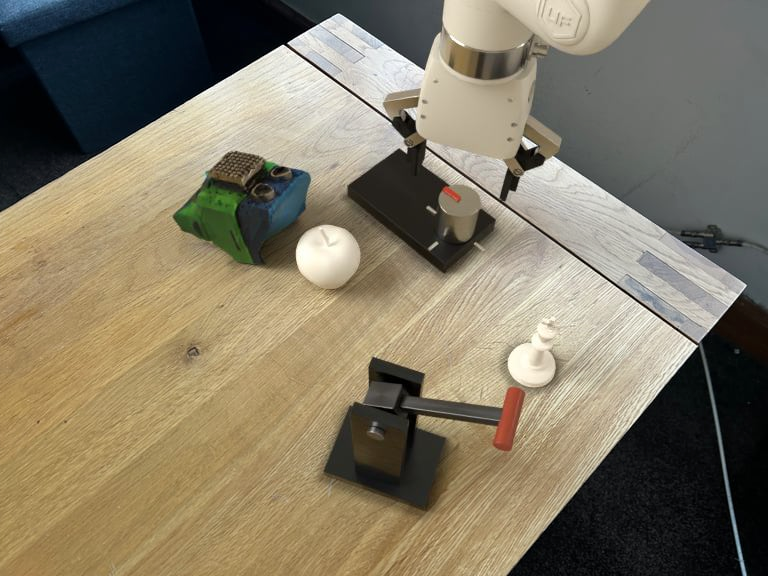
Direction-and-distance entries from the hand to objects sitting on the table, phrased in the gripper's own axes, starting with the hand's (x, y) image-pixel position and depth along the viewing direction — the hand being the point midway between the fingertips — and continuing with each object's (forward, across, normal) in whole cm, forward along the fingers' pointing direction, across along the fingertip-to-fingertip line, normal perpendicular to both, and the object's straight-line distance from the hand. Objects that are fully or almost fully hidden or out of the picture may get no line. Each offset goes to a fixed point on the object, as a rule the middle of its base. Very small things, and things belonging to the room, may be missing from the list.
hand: (461, 178), depth 69 cm
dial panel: (+10, +5, -2) cm, 12 cm away
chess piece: (+10, -13, +13) cm, 21 cm away
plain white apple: (+11, +12, +10) cm, 18 cm away
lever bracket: (+10, -2, +28) cm, 30 cm away
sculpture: (+11, +24, +7) cm, 27 cm away
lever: (-5, -6, +28) cm, 29 cm away
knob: (+8, 0, 0) cm, 8 cm away
